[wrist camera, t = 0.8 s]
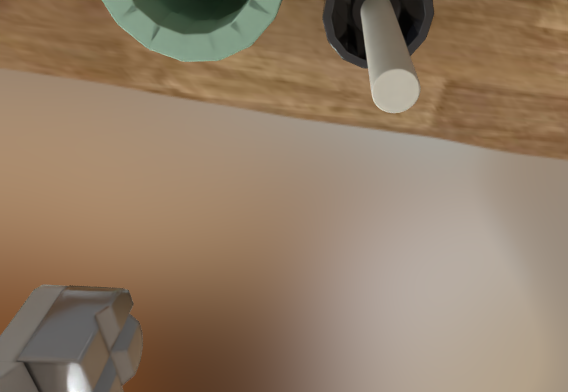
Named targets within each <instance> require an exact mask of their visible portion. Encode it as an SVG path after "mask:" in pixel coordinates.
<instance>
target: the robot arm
mask: <svg viewBox="0 0 568 392" xmlns="http://www.w3.org/2000/svg"><path fill="white" fill-rule="evenodd" d="M132 306H133V301H132V298H131V296H130V293H129V290H126V289H123V288H107V287H88V286H58V285H41V286H40V287H38V288H36V289H34V291H33V292H32V293H31V295H30V296H29V297H28V299H27V300H26V301H25V303H24V304H23V306H22V307H21V308H20V310H19V311H18V313H17V314H16V315H15V317H14V318H13V319H12V321H11V322H10V323H9V325H8V326H7V328H6V329H5V330H4V332H3V333H2V334H1V336H0V392H124V391H123V389H122V385H123V384H125V383H126V382H127V381H128V380H129V379H131V378H132V377H133V376H134V375H135V373H136V371H137V368H138V365H139V363H140V359H141V353H142V346H143V338H142V330H141V326H140V323H139V321H137V320H136V319H135V318H134V317H133V316H132V315H130V314H129V313H130V310H131V309H132Z"/></svg>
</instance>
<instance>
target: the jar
mask: <svg viewBox="0 0 568 392" xmlns="http://www.w3.org/2000/svg"><path fill="white" fill-rule="evenodd" d="M102 1H103V3H104V4H105V6H106V7H107V9H108V11H109V12H110V14H111V15H112V17H113V18H114V20H115V21H116V23H117V24H118V25H119V26H120V27H122V28H123V29H124V30H125V31H127V32H128V33H129V34H130V35H131V36H133V37H134V38H135V39H136V40H138V41H139V42H140V43H141V44H142V45H144V46H145V47H146V48H149V49H150V50H153V51H155V52H158V53H161V54H164V55H166V56H169V57H172V58H175V59H177V60H180V61H184V62H191V61H218V60H222V59H224V58H226V57H228V56H230V55H233V54H235V53H237V52H239V51H241V50H243V49H245V48H247V47H250V46H251V45H252V44H253V43H254V42H255V41H256V40H257V38H258V37H259V36H260V35H261V34H262V33H263V31H264V30H265V29H266V28H267V27H268V26H269V25H270V23H271V22H272V21H273V20H274V19H275V17H276V15H277V12H278V10H279V7H280V5H281V2H282V0H102Z"/></svg>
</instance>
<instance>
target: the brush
mask: <svg viewBox="0 0 568 392" xmlns="http://www.w3.org/2000/svg"><path fill="white" fill-rule="evenodd" d="M351 9H352V18H353V21H354V23H355V25H356V26H357V27H358V28H359V29H360V30H361V31H363V34H364V41H365V49H366V56H367V63H368V70H369V78H370V85H371V92H372V98H373V101H374V103H375V104H376V105H377V106H378V107H379V108H380V109H381V110H383V111H385V112H389V113H399V112H403V111H405V110H407V109H409V108H410V107H412V106H413V105H414V104H415V102H416V101H417V99H418V97H419V94H420V83H419V80H418V77H417V74H416V71H415V68H414V66H413V63H412V60H411V57H410V55H409V52H408V49H407V46H406V43H405V41H404V38H403V35H402V32H401V29H400V27H399V24H398V19H399V16H400V12H401V3H400V0H351Z"/></svg>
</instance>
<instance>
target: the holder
mask: <svg viewBox="0 0 568 392" xmlns="http://www.w3.org/2000/svg"><path fill="white" fill-rule="evenodd" d="M400 3H401V12H400V16H399V19H398V24H399V27H400V29H401V32H402V35H403V38H404V41H405V43H406V46H407V49H408V52H409V55H410V56H411V55H412V54H413V53H414V51H415V50H416V49H417V48H418V47H419V46H420V45H421V44H422V42H423V41H424V40H425V39H426V37H427V34H428V31H429V28H430V25H431V22H432V19H433V16H434V7H433V0H400ZM323 23H324V27H325V31H326V36H327V40H328V42H329V43H330V45H331V46H332V47H333V48H334V49H335V51H336V52H337V53H338V54H339V55H340V57H341V58H342V59H343V60H345V61H348V62H350V63H352V64H354V65H357V66H359V67H361V68H368V63H367V56H366V49H365V41H364V34H363V31H361V30H360V29H359V28H358V27H357V26H356V25H355V23H354V21H353V18H352V9H351V0H324V7H323Z"/></svg>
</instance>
